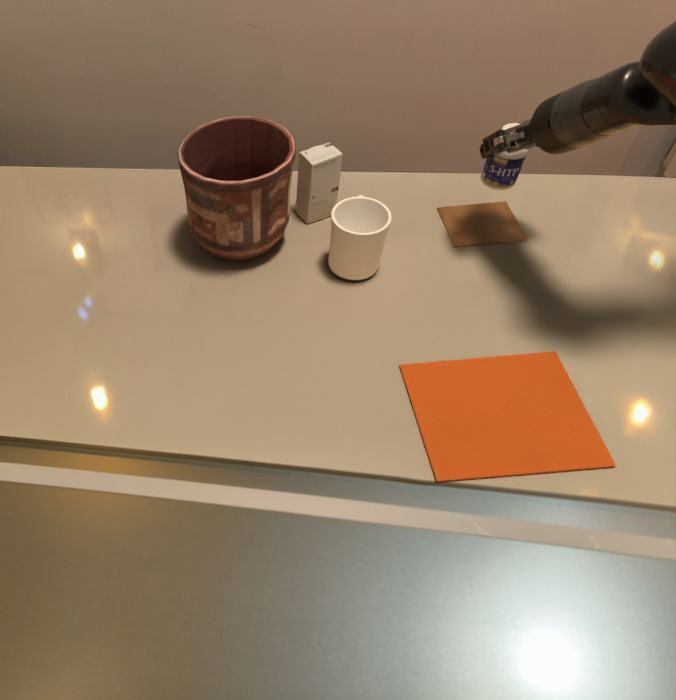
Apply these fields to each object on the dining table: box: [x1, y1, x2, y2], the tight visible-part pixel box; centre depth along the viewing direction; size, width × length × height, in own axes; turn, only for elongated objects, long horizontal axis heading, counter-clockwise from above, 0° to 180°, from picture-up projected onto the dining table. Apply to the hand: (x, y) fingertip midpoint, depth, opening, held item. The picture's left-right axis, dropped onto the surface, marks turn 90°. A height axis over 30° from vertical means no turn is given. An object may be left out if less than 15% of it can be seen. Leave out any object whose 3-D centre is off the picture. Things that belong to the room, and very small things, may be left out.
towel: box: [399, 350, 617, 483], centre depth 80 cm, size 22×18×1 cm
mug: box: [327, 194, 392, 283], centre depth 96 cm, size 11×9×10 cm
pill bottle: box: [480, 122, 530, 191], centre depth 93 cm, size 5×5×9 cm
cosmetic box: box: [295, 142, 344, 224], centre depth 103 cm, size 6×4×12 cm
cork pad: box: [436, 200, 528, 248], centre depth 103 cm, size 12×10×1 cm
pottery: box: [177, 115, 297, 261], centre depth 98 cm, size 18×18×18 cm
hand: (500, 148), depth 93 cm, fingers closed on pill bottle, 5 cm apart
